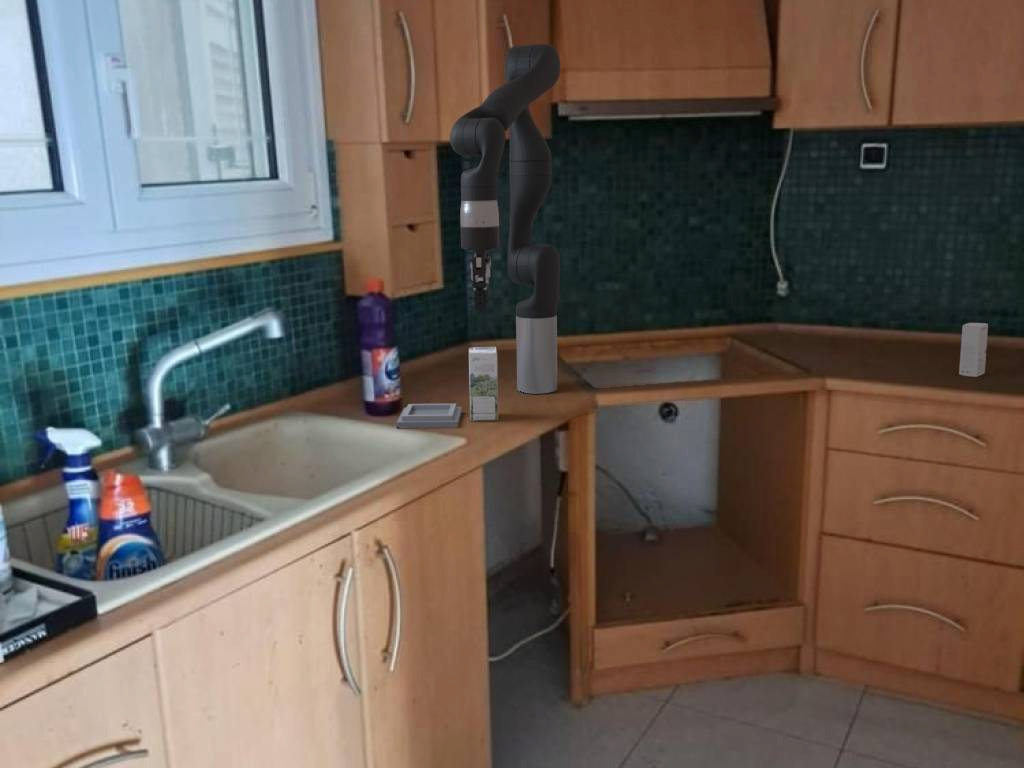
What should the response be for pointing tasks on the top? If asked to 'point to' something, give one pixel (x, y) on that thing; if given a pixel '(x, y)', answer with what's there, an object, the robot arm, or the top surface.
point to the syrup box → (483, 384)
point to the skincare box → (973, 349)
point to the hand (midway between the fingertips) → (481, 306)
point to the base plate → (430, 416)
